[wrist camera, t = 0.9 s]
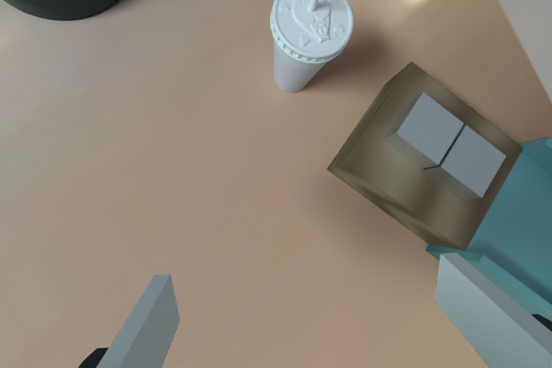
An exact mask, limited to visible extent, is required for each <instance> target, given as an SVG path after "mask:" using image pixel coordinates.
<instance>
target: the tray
mask: <svg viewBox="0 0 552 368" xmlns="http://www.w3.org/2000/svg"><path fill="white" fill-rule="evenodd" d="M519 145H520V146H521V147H523V150H522V152H521V153H520V155H519V157H518V159H517V160H516V162H515V164H514V166H513V167H512V169H511V171H510V173H509V175H508V176H507V178H506V180H505V182H504V183H503V185H502V187H501V189H500V190H499V192H498V194H497V196H496V197H495V199H494V201H493V203H492V204H491V206H490V208H489V210H488V211H487V213H486V215H485V217H484V218H483V220H482V222H481V224H480V226H479V227H478V229H477V231H476V233H475V234H474V236H473V238H472V240H471V241H470V243H469V245H468V247H467V248H466V250H465V251H463V250H457V249H452V248H447V247H442V246H436V245H431V244H429V245H428V247H427V249H426V251H427V252H429V253H430V254H431V255H433V256H434V257H435V258H437V259H438V260H440V254H444V253H457V254H459V255H460V256H461V257H462V258H463V259H465V260H466V261H467V262H468V263H469V264H471V265H472V266H473V267H474V268H475V269H477V270H478V271H479V272H480V273H481V274H483V275H484V276H485V277H486V278H487V279H489V280H490V281H491V282H492V283H493V284H495V285H496V286H497V287H498V288H499V289H501V290H502V291H503V292H504V293H505V294H507V295H508V296H509V297H510V298H511V299H513V300H514V301H515V302H516V303H517V304H519V305H520V306H521V307H522V308H523V309H525V310H526V311H527V312H528V313H529V314H539V315H541V316H543V317H545V318H547V319H548V320H550V321H552V139H551V138H550V137H546V138H542V139H537V140H533V141H529V142H524V143H520V144H519Z"/></svg>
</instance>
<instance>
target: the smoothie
mask: <svg viewBox="0 0 552 368" xmlns="http://www.w3.org/2000/svg"><path fill="white" fill-rule="evenodd" d="M270 25H271V30H272V34H273V37H274V79H275V82H276V84H277V85H278V87H279V88H281V89H282V90H284V91H286V92H297V91H300V90H301V89H302V88H303V87H304V86H305V85H306V84H307V83H308V82H309V81H310V80H311V79H312V78H313V77H314V75H315V74H316V73H317V72H318V71H319V70H320V69H321V68H322V67H323V66H324V65H325V64H326V62H328V61H330V60H332V59H333V58H335V57H337V56H338V55H339V54H340V53H341V52H342V51H343V50H344V48H345V46H346V44H347V43H348V41H349V39H350V37H351V34H352V31H353V25H354V18H353V12H352V8H351V6H350V4H349V2H348V0H275V1H274V4H273V8H272V12H271V16H270Z"/></svg>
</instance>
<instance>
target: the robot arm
mask: <svg viewBox="0 0 552 368" xmlns="http://www.w3.org/2000/svg"><path fill="white" fill-rule="evenodd" d="M4 1H6V2H7V3H9V4H10V5H12V6H13V7H15V8H17V9H19V10H21V11H23V12H25V13H28V14H30V15H33V16H37V17H41V18H46V19H53V20H72V19H79V18H84V17H87V16H91V15H94V14H96V13H98V12H101V11H103V10H105V9H106V8H108V7H110V6H111V5H112V4H114V3H115V2H116V1H117V0H4ZM435 301H436V303H437V304H438V305H439V306H440V308H441V309H442V310H443V311H444V313H445V314H446V315H447V316H448V317H449V319H450V320H451V321H452V322H453V324H454V325H455V326H456V327H457V328H458V330H459V331H460V332H461V333H462V335H463V336H464V337H465V338H466V340H467V341H468V342H469V343H470V344H471V346H472V347H473V348H474V349H475V351H476V352H477V353H478V354H479V355H480V357H481V358H482V359H483V360H484V362H485V363H486V364H487V365H488V367H489V368H552V321H550V320H548V319H547V318H545V317H543V316H541V315H539V314H529V313H528V312H527V311H526V310H525V309H523V308H522V307H521V306H520V305H519V304H517V303H516V302H515V301H514V300H513V299H511V298H510V297H509V296H508V295H507V294H505V293H504V292H503V291H502V290H501V289H499V288H498V287H497V286H496V285H495V284H493V283H492V282H491V281H490V280H489V279H487V278H486V277H485V276H484V275H483V274H481V273H480V272H479V271H478V270H477V269H475V268H474V267H473V266H472V265H471V264H469V263H468V262H467V261H466V260H465V259H463V258H462V257H461V256H460V255H459V254H457V253H444V254H440V263H439V271H438V280H437V288H436V297H435ZM179 322H180V317H179V312H178V307H177V303H176V298H175V293H174V288H173V284H172V279H171V274H165V275H155V276H154V277H153V279H152V280H151V282H150V284H149V285H148V287H147V288H146V290H145V291H144V293H143V295H142V296H141V298H140V299H139V301H138V302H137V304H136V306H135V307H134V309H133V310H132V312H131V314H130V315H129V317H128V318H127V320H126V321H125V323H124V325H123V326H122V328H121V329H120V331H119V333H118V334H117V336H116V337H115V339H114V340H113V342H112V344H111V345H110V347H109V348H97V349H96V350H95V351H94V352H93V353H91V354H90V355H89V356H88V357H87V358H86V359H85V360H84V361H83V362H82V363H81V365H80V366H79V368H162V365H163V363H164V360H165V358H166V355H167V353H168V350H169V348H170V345H171V342H172V340H173V337H174V335H175V332H176V330H177V327H178V325H179Z"/></svg>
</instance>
